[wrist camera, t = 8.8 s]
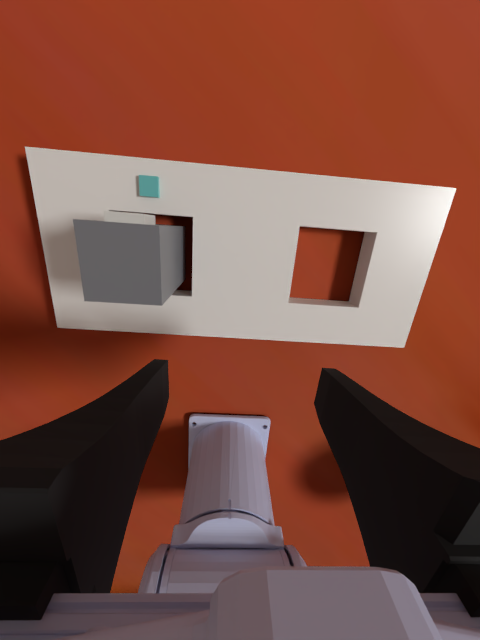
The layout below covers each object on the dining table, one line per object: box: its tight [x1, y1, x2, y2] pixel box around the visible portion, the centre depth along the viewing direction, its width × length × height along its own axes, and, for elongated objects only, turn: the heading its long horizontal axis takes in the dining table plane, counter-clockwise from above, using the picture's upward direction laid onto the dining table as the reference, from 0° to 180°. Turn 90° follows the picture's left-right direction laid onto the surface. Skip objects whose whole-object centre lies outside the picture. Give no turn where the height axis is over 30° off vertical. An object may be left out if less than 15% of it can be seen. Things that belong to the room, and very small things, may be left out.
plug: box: [73, 211, 185, 306], centre depth 16 cm, size 4×4×8 cm
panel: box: [25, 147, 456, 348], centre depth 19 cm, size 12×28×2 cm, turn 86°
